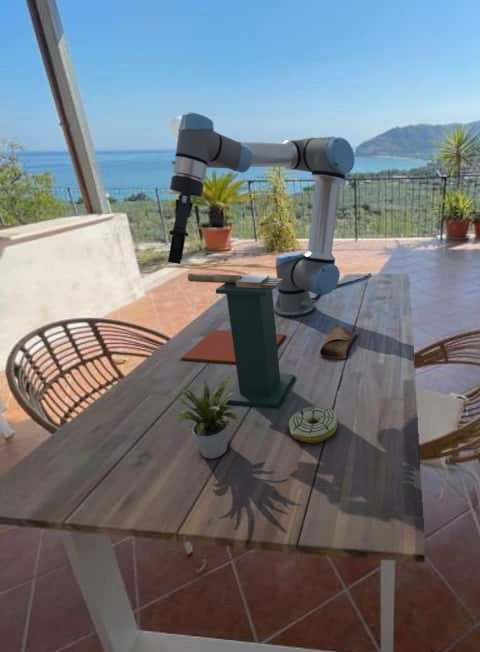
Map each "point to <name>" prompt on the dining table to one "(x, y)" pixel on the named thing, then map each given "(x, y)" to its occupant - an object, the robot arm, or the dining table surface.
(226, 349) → the mat
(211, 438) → the house plant
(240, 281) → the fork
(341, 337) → the sunglasses case
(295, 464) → the dining table surface
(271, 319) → the stand
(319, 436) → the decorated donut
